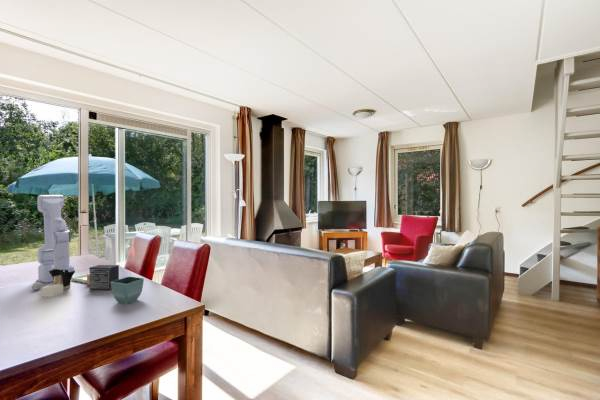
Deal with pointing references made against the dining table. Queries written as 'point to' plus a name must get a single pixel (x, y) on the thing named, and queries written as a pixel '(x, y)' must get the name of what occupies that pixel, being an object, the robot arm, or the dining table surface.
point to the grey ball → (37, 286)
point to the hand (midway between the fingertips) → (62, 285)
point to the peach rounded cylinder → (88, 279)
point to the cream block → (52, 290)
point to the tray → (80, 278)
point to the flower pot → (127, 289)
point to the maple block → (60, 281)
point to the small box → (103, 276)
